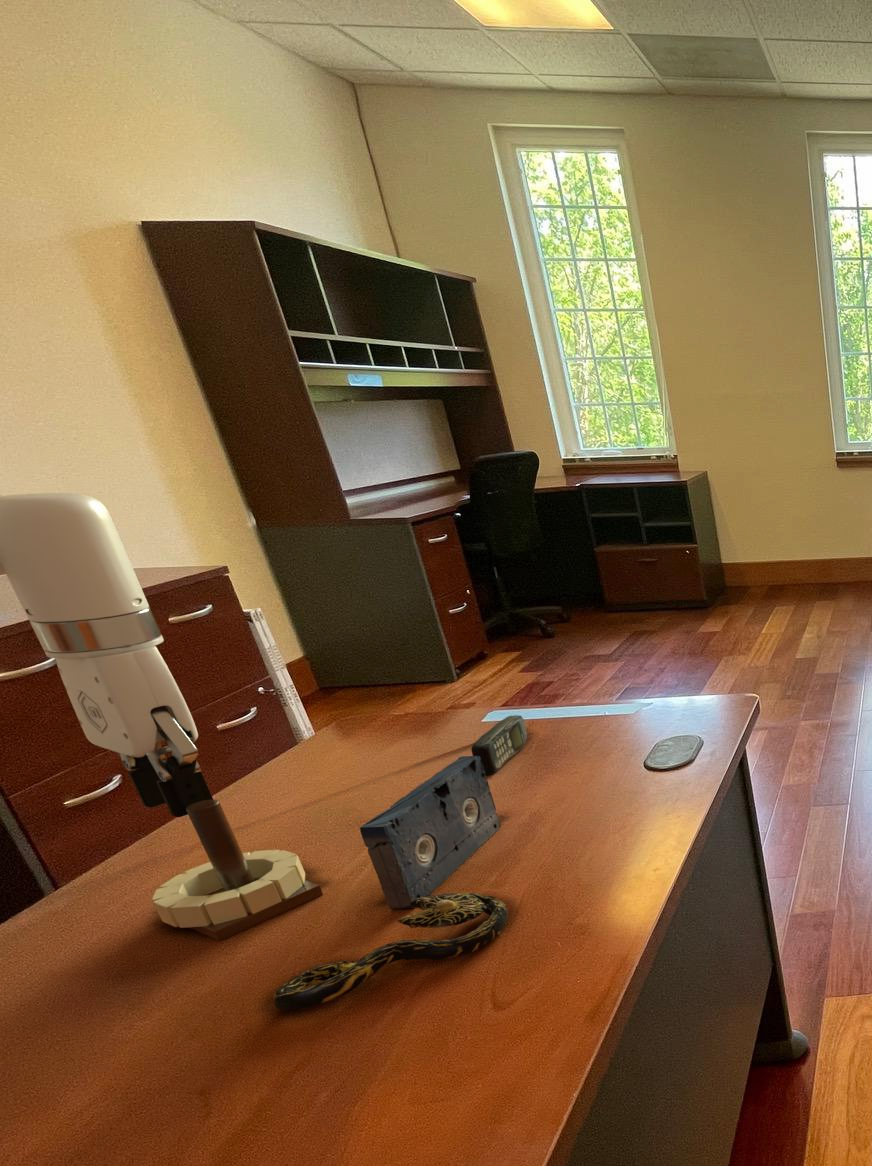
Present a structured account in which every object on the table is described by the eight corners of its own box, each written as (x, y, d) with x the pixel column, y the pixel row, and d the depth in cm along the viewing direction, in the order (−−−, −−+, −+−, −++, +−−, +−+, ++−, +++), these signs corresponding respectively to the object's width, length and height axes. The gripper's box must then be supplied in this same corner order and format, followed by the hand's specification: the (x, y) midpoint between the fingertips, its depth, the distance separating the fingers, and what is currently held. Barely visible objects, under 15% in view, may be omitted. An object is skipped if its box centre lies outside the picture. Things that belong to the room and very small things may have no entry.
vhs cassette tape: (481, 826, 99) (460, 755, 95) (506, 826, 100) (485, 754, 96) (384, 911, 83) (352, 828, 79) (413, 910, 83) (384, 827, 79)
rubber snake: (256, 979, 65) (267, 930, 72) (274, 1026, 66) (283, 974, 74) (509, 908, 76) (496, 872, 83) (520, 950, 77) (506, 911, 84)
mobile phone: (488, 745, 111) (528, 707, 125) (464, 747, 111) (507, 708, 124) (497, 777, 113) (536, 735, 127) (474, 778, 113) (515, 736, 126)
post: (171, 919, 81) (117, 815, 76) (275, 876, 89) (232, 779, 84) (219, 941, 78) (167, 833, 73) (323, 894, 85) (282, 794, 81)
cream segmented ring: (139, 912, 80) (129, 892, 79) (268, 860, 89) (260, 842, 88) (200, 938, 76) (189, 917, 75) (328, 881, 86) (320, 862, 85)
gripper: (-2, 631, 73) (87, 806, 80) (90, 653, 67) (178, 839, 74) (108, 614, 79) (182, 778, 87) (202, 633, 74) (272, 806, 81)
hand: (179, 804), depth 80 cm, fingers open, 4 cm apart
